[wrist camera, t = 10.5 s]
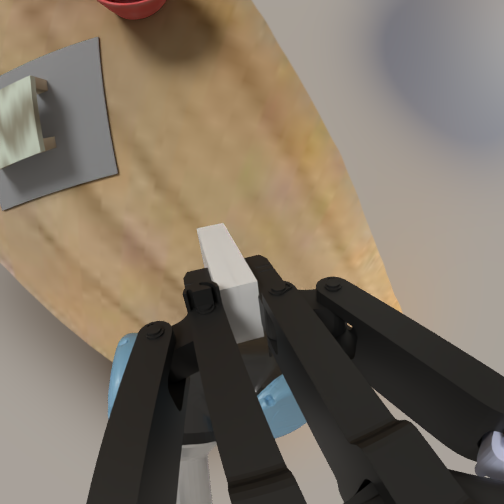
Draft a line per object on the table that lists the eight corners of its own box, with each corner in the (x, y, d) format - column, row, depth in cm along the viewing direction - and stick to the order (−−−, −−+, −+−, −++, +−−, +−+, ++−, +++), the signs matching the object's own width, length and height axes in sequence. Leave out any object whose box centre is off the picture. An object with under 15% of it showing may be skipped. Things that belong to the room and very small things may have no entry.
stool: (40, 152, 28) (-18, 177, 26) (56, 147, 33) (1, 169, 31) (30, 75, 23) (-30, 106, 21) (46, 80, 29) (-9, 105, 27)
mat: (118, 172, 38) (117, 173, 37) (3, 209, 34) (2, 210, 33) (98, 37, 29) (97, 36, 28) (-19, 87, 25) (-20, 86, 24)
